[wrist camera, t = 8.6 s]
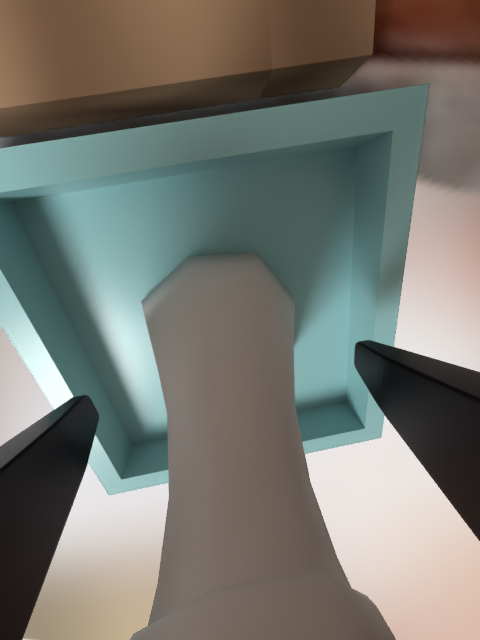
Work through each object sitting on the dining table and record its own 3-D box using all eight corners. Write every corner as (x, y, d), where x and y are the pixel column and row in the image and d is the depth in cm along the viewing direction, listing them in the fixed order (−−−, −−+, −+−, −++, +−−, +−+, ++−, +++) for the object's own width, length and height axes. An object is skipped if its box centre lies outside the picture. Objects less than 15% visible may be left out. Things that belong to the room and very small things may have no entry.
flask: (268, 220, 10) (861, 298, 1) (311, 355, 13) (547, 687, 4) (112, 288, 10) (-577, 821, 1) (189, 404, 13) (145, 808, 4)
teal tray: (376, 114, 9) (429, 83, 7) (356, 404, 16) (381, 437, 13) (-21, 176, 9) (-102, 163, 6) (124, 452, 15) (109, 495, 13)
